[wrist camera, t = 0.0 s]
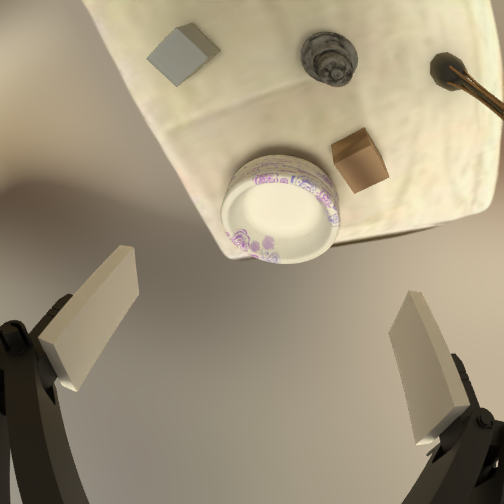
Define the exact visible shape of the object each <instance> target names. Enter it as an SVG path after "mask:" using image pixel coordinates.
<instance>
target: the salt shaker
mask: <svg viewBox="0 0 504 504" xmlns="http://www.w3.org/2000/svg"><path fill="white" fill-rule="evenodd" d="M301 62H302V65H303V67H304V69H305V71H306V72H307V73H308V74H309V75H310V76H311V77H312V78H314V79H315V80H317V81H320V82H323V83H326V84H328V85H330V86H333V87H341V86H344V85H346V84H348V83H349V81H350V80H351V78H352V74H353V73H354V72H355V70H356V67H357V63H358V57H357V52H356V50H355V48H354V46H353V45H352V43H351V42H350V41H349V40H348V39H346V38H345V37H343V36H341V35H339V34H336V33H331V32H320V33H317V34H314V35H313V36H311V37H310V38H309V39H308V40H307V41H306V42H305V44H304V45H303V48H302V50H301Z"/></svg>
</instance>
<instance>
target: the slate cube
mask: <svg viewBox="0 0 504 504" xmlns="http://www.w3.org/2000/svg"><path fill="white" fill-rule="evenodd" d="M219 51H220V50H219V49H218V48H217V47H216V46H215V45H214V44H213V43H212V42H211V41H210V40H209V39H208V38H207V37H206V36H205V35H204V34H203V33H202V32H201V31H200V30H199V29H198V28H197V27H196V26H195V25H193V24H192V23H191V24H187V25H184V26H180V27H176V28H175V29H174V30H173V31H172V32H171V33H170V34H169V35H168V36H167V37H166V38H165V39H164V40H163V41H162V42H161V43H160V44H159V45H158V47H157V48H156V49H155V50H154V51H153V52H152V53H151V54H150V55H149V56H148V57H147V58H146V59H147V60H148V61H149V62H150V63H151V64H152V65H154V66H155V67H156V68H157V69H158V70H159V71H160V72H161V73H162V74H163V75H164V76H165V77H166V78H167V79H169V80H170V81H171V82H172V83H173V84H174V85H175V86H176V87H178V86H179V85H180V84H181V83H183V82H184V81H185V80H186V79H188V78H189V77H190V76H192V75H193V74H194V73H195V72H196V71H197V70H198V69H199V68H201V67H202V66H203V65H204V64H205V63H206V62H207V61H209V60H210V59H211V58H212V57H213V56H215V55H216V54H217V53H218V52H219Z"/></svg>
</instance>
